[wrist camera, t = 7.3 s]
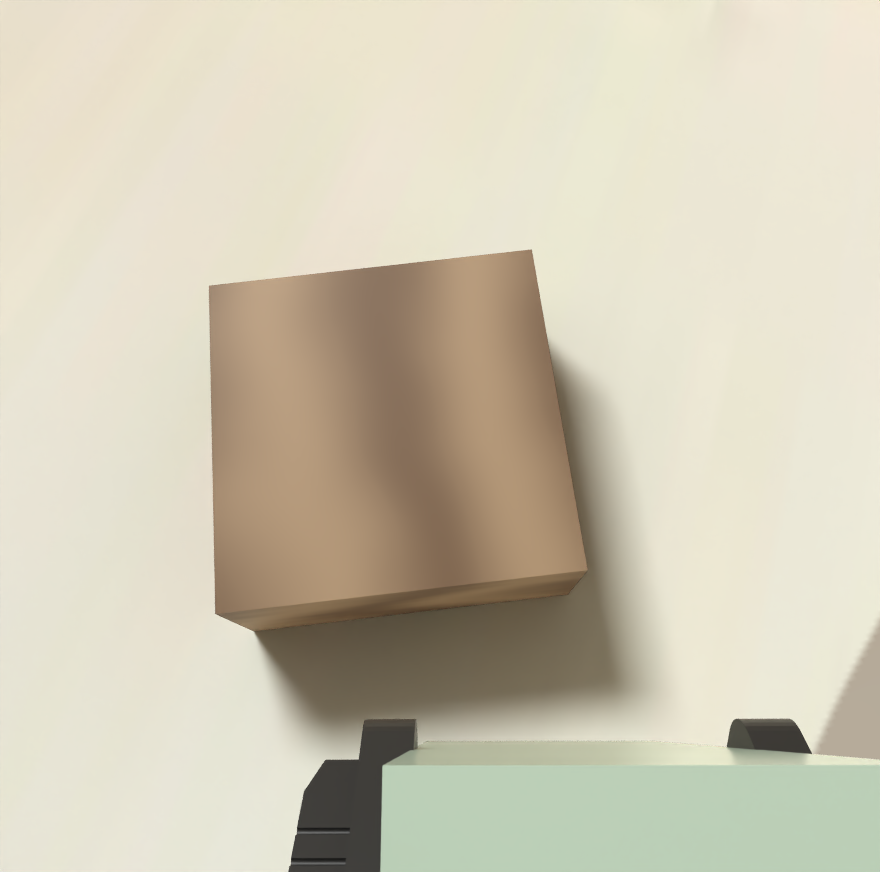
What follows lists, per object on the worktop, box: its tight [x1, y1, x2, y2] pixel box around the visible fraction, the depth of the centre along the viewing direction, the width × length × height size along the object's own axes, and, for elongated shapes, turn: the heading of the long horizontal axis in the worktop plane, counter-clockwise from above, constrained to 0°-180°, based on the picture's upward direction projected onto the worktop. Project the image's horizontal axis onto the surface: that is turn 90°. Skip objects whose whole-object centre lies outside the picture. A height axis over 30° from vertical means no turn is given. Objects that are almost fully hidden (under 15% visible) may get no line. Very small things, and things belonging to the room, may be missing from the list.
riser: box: [209, 250, 588, 631], centre depth 28 cm, size 11×11×5 cm
